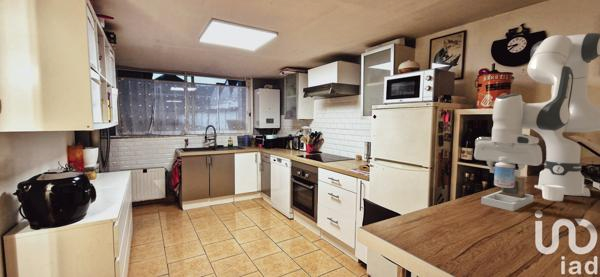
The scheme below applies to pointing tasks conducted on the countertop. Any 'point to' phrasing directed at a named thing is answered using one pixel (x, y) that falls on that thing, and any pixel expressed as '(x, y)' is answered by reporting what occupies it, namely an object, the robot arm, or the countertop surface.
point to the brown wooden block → (516, 188)
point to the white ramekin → (553, 192)
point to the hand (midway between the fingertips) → (504, 174)
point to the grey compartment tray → (506, 201)
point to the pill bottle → (504, 173)
